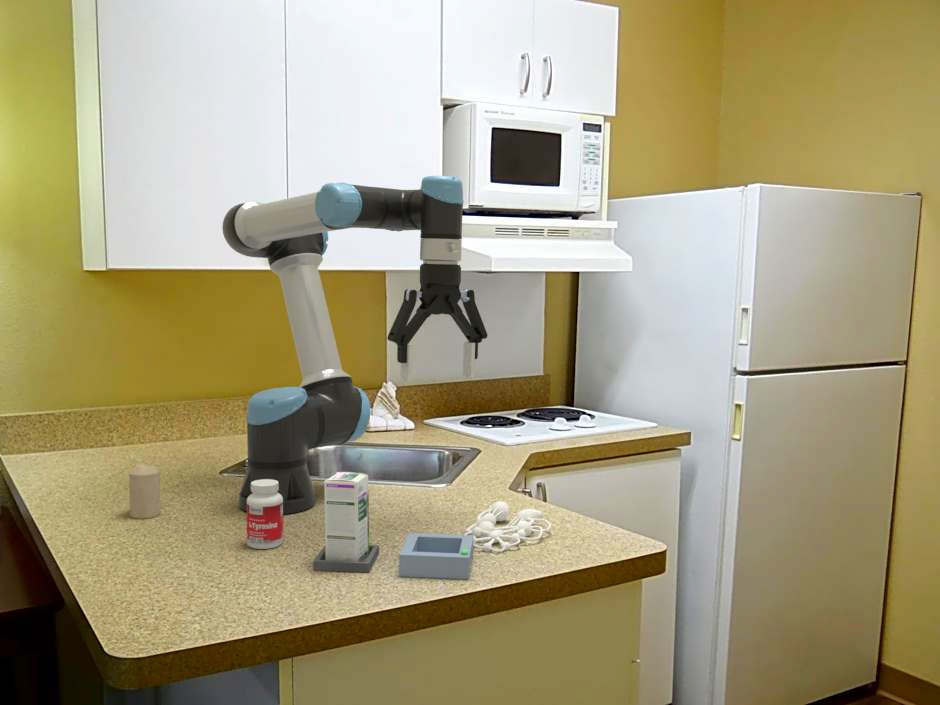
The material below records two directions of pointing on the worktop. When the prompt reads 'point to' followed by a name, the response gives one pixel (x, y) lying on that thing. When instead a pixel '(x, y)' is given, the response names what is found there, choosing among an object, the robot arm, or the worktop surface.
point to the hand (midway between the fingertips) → (438, 379)
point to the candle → (144, 491)
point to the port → (436, 556)
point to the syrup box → (347, 517)
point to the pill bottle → (264, 515)
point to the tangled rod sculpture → (500, 513)
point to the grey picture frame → (346, 562)
